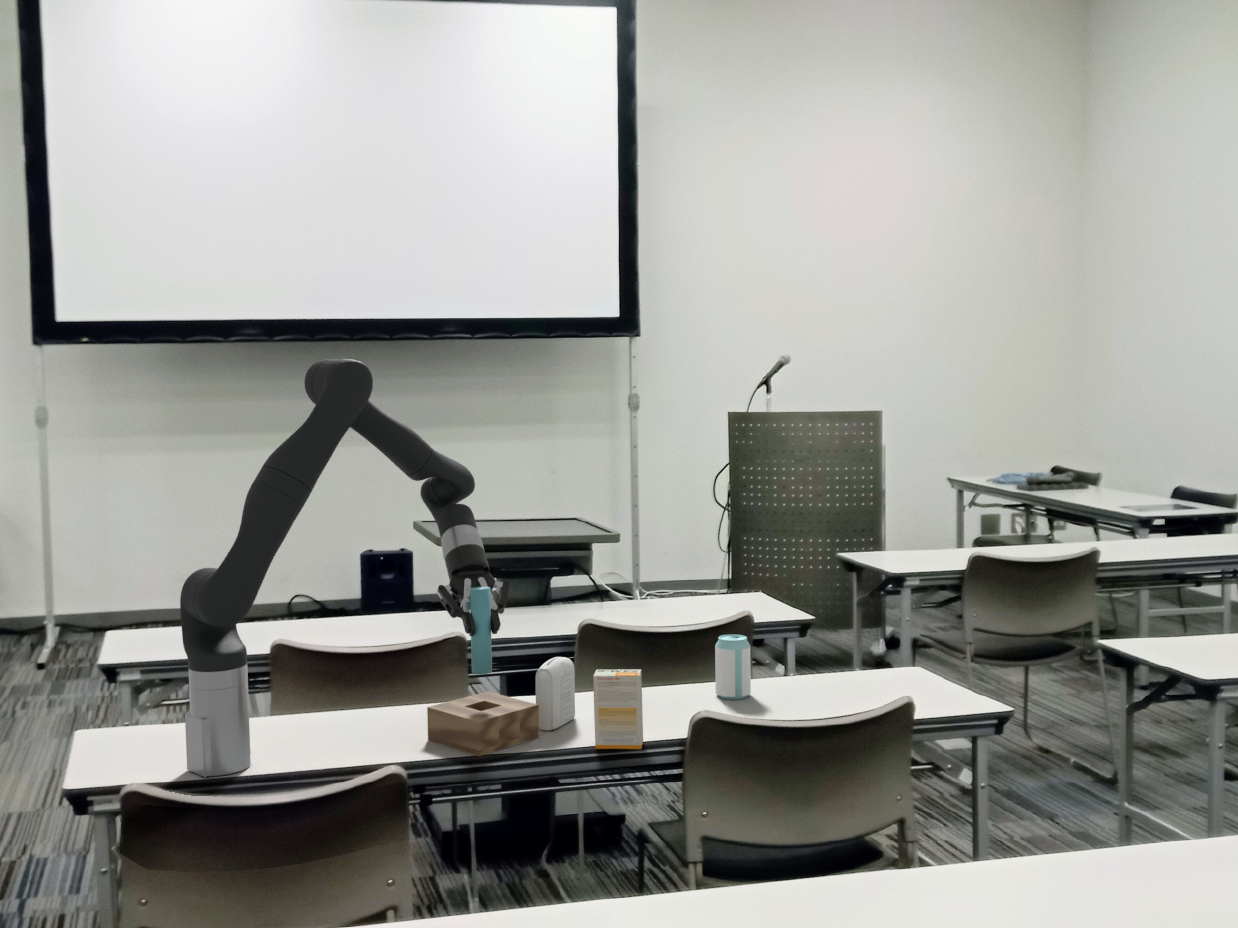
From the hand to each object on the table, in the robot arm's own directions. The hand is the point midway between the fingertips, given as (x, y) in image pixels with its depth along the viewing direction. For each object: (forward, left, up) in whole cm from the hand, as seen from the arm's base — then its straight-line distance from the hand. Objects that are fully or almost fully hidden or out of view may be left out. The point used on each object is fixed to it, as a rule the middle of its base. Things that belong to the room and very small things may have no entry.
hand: (484, 632), depth 203 cm
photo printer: (+16, -1, -20) cm, 25 cm away
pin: (+1, +2, -8) cm, 8 cm away
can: (+53, -14, -20) cm, 58 cm away
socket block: (+1, +2, -20) cm, 20 cm away
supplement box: (+14, -19, -20) cm, 31 cm away
